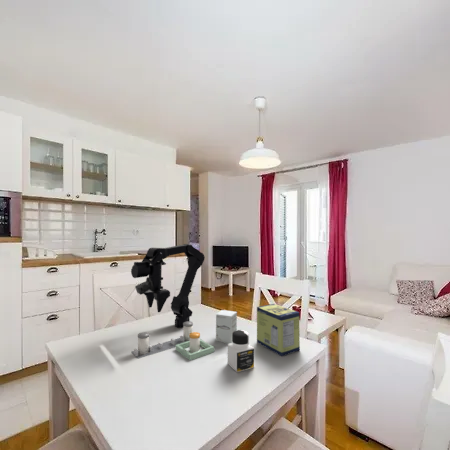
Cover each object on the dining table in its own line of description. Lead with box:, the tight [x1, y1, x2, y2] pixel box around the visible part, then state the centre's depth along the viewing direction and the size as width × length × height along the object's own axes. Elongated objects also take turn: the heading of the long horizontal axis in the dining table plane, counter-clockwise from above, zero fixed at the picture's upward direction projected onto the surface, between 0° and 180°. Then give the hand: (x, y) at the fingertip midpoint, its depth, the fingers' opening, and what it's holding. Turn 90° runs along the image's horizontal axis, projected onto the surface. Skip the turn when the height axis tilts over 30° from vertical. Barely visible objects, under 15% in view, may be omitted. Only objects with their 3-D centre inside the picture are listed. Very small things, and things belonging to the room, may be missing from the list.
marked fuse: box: [188, 331, 201, 353], centre depth 102 cm, size 4×4×7 cm
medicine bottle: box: [227, 329, 255, 373], centre depth 93 cm, size 7×7×12 cm
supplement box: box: [215, 309, 238, 346], centre depth 114 cm, size 7×7×13 cm
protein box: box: [256, 303, 301, 357], centre depth 109 cm, size 10×16×16 cm
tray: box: [175, 338, 215, 361], centre depth 102 cm, size 11×11×3 cm
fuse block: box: [131, 321, 194, 359], centre depth 106 cm, size 27×7×8 cm, turn 129°
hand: (154, 309), depth 118 cm, fingers open, 9 cm apart
